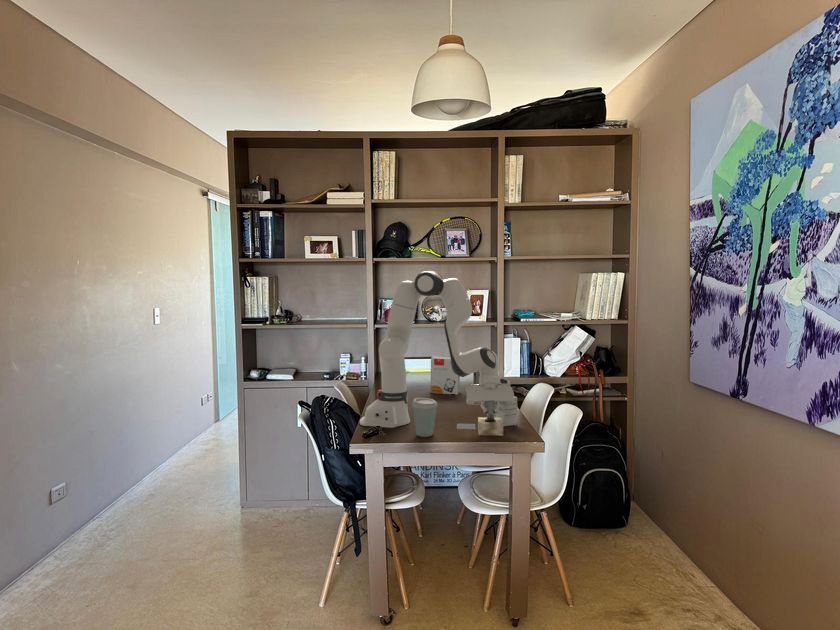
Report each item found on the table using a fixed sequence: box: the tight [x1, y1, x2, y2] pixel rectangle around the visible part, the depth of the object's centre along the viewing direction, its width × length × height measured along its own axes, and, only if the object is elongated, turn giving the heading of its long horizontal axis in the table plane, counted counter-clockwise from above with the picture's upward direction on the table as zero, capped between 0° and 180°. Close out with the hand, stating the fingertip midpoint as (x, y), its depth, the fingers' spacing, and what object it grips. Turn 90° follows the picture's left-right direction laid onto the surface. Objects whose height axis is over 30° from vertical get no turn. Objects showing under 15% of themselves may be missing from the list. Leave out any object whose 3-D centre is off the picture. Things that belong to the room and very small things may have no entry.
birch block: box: [477, 416, 504, 437], centre depth 222 cm, size 10×10×5 cm
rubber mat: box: [456, 423, 476, 430], centre depth 230 cm, size 8×8×1 cm
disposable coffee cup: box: [411, 397, 438, 438], centre depth 218 cm, size 11×11×15 cm
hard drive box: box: [430, 355, 461, 396], centre depth 296 cm, size 16×8×20 cm, turn 76°
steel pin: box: [486, 401, 495, 422], centre depth 222 cm, size 3×3×10 cm
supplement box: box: [494, 395, 518, 427], centre depth 235 cm, size 7×7×13 cm
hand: (490, 412), depth 221 cm, fingers closed on steel pin, 3 cm apart
